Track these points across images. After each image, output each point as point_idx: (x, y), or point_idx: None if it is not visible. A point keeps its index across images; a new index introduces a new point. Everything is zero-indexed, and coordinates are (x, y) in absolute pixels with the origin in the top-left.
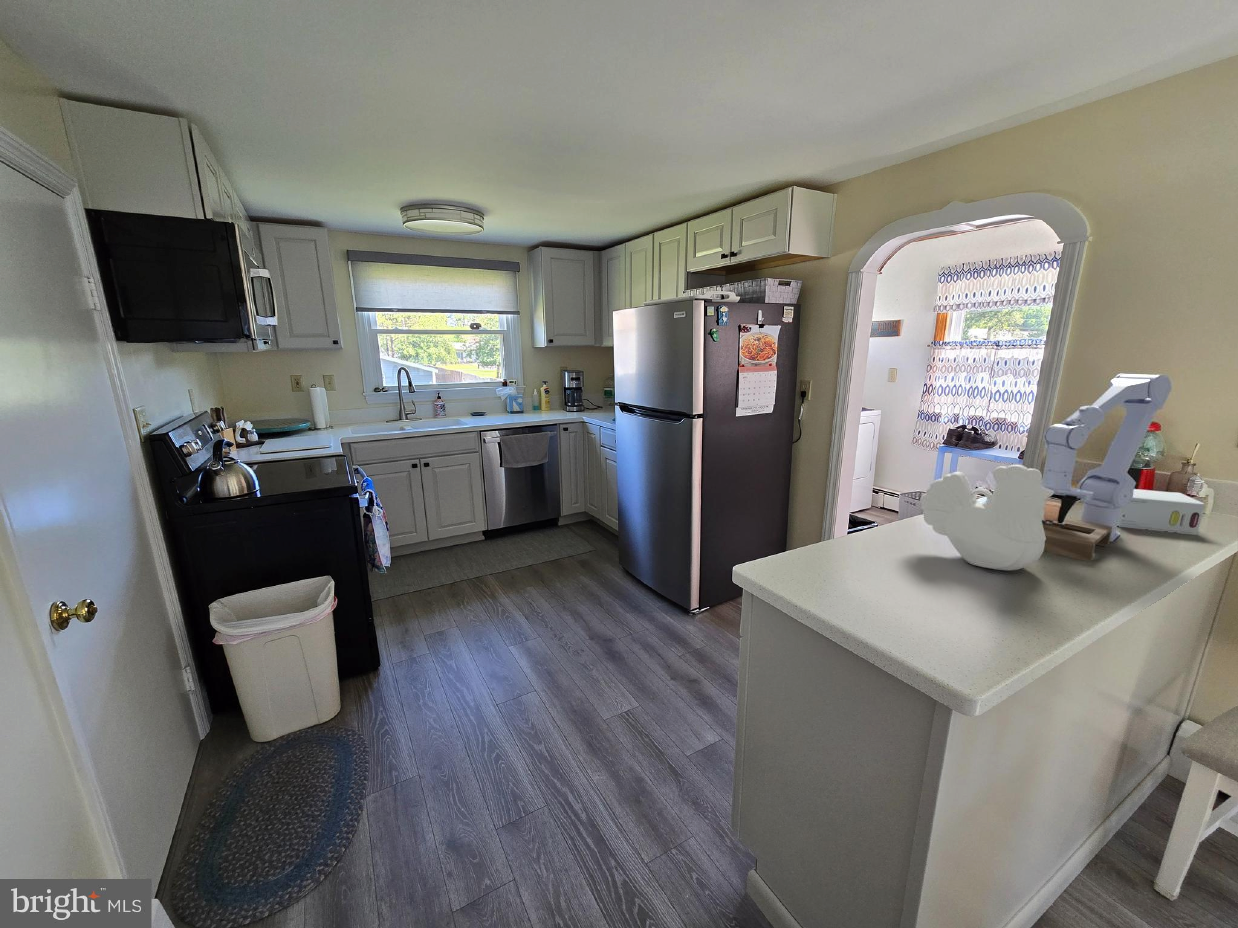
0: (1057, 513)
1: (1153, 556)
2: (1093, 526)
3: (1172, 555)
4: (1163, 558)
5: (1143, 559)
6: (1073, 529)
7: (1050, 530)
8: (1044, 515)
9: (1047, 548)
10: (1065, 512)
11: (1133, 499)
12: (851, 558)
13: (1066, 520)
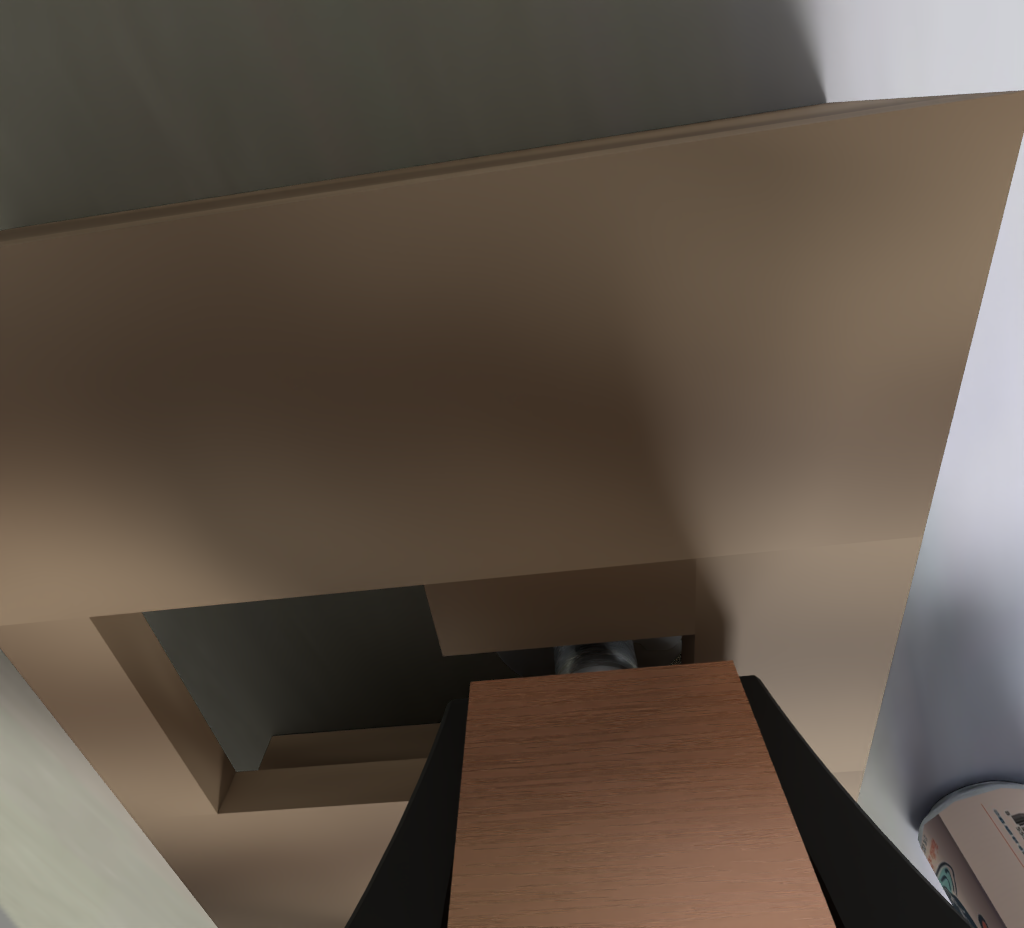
0: (472, 823)
1: (49, 763)
2: (294, 869)
3: (46, 840)
4: (7, 769)
5: (5, 671)
6: None
7: (407, 349)
8: (659, 724)
9: (396, 171)
10: (364, 899)
11: None
12: None
13: None
